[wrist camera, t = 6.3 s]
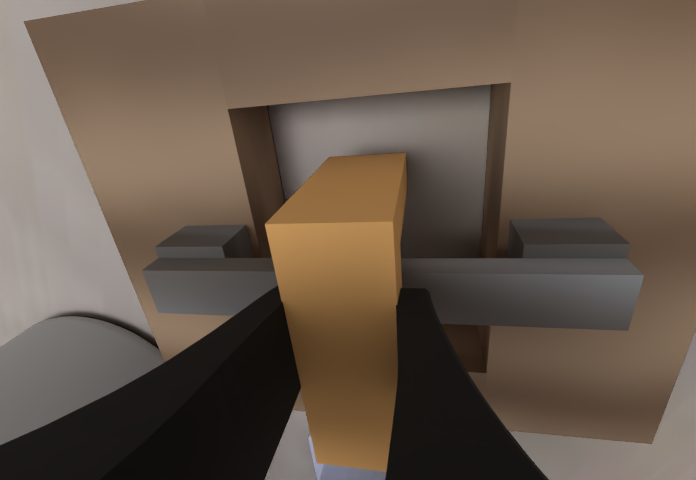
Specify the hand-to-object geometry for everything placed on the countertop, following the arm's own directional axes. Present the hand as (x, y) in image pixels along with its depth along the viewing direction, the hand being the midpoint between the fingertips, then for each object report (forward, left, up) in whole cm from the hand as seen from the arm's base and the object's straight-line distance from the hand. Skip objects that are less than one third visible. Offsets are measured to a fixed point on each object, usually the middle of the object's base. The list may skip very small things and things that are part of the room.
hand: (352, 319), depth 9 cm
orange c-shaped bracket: (-1, 0, -4) cm, 4 cm away
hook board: (0, 0, -6) cm, 6 cm away
